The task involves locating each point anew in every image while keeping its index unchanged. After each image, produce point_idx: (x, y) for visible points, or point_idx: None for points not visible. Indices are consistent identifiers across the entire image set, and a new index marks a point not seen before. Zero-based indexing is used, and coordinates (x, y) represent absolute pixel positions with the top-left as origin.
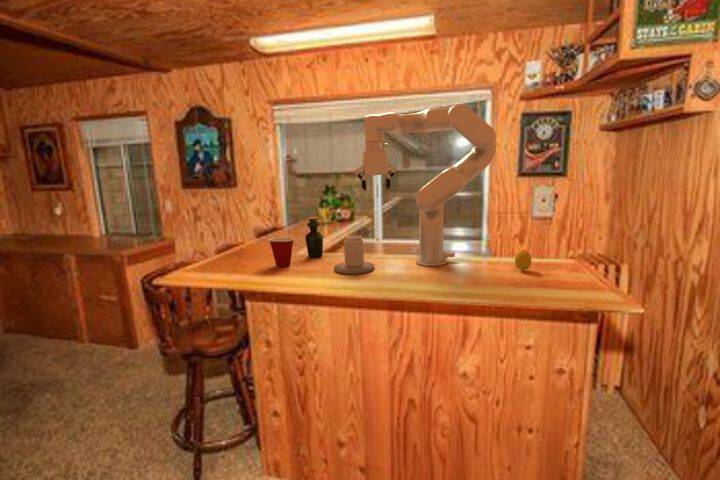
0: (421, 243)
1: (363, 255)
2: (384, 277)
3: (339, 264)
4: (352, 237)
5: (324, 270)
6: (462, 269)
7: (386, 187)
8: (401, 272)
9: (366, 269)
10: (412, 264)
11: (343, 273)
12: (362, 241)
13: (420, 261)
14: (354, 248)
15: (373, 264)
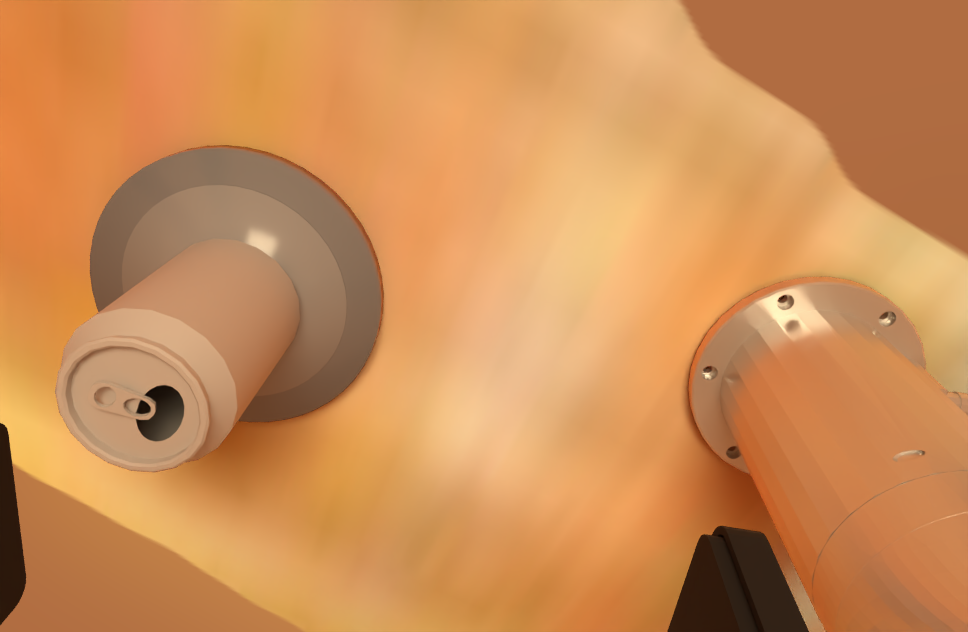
0: (758, 473)
1: (274, 366)
2: (375, 517)
3: (134, 196)
4: (123, 416)
5: (32, 219)
6: None
7: (689, 618)
8: (503, 479)
9: (298, 403)
10: (659, 357)
11: None
12: (228, 433)
13: (712, 392)
14: (168, 434)
15: (377, 313)
